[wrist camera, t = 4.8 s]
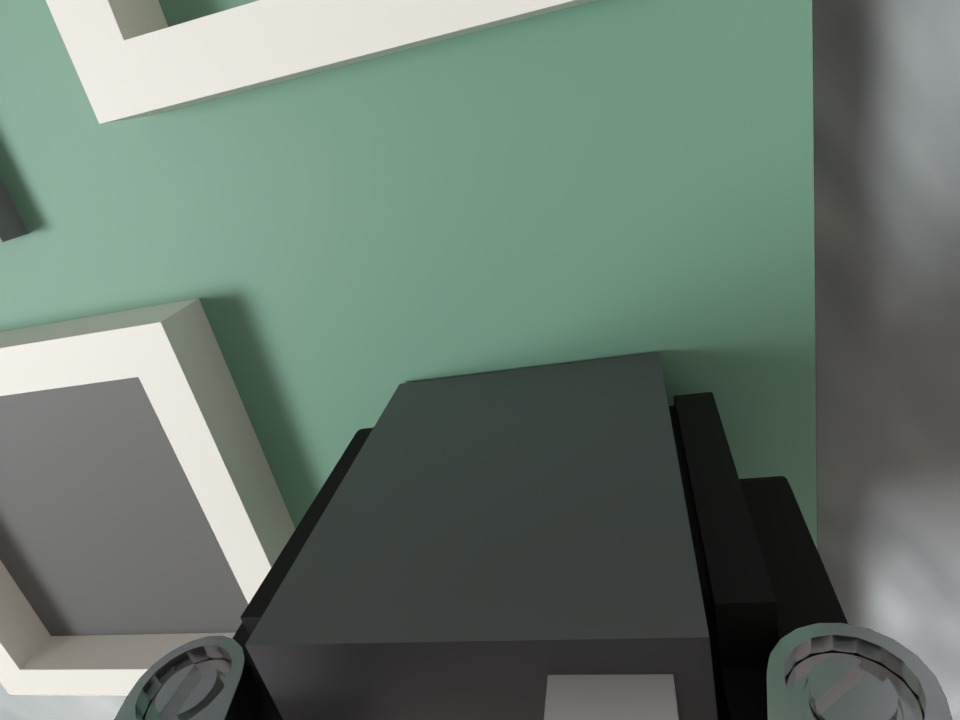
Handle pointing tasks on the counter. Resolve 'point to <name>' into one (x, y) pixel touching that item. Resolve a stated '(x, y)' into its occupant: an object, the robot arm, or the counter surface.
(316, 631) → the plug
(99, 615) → the board
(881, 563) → the counter surface
